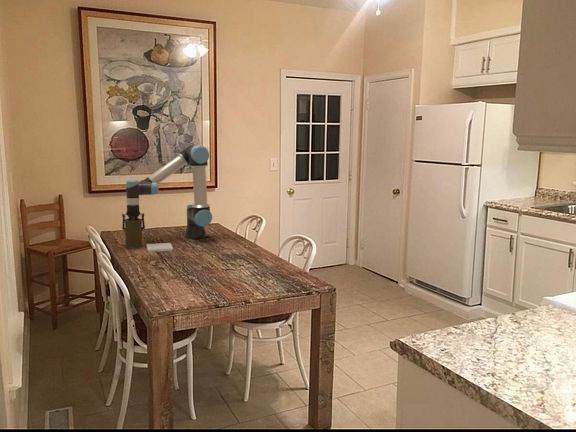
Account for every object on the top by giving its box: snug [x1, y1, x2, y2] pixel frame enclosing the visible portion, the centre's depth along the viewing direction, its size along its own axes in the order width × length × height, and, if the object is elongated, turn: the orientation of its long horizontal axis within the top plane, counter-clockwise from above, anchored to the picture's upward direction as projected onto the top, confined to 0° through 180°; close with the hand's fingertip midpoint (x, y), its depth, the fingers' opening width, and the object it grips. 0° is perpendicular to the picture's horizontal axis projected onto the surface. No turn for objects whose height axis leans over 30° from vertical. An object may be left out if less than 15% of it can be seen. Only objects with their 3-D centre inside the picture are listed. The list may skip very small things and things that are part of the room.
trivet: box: [146, 242, 174, 253], centre depth 307 cm, size 15×15×2 cm
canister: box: [124, 216, 143, 249], centre depth 310 cm, size 11×10×20 cm
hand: (133, 240), depth 311 cm, fingers open, 6 cm apart
